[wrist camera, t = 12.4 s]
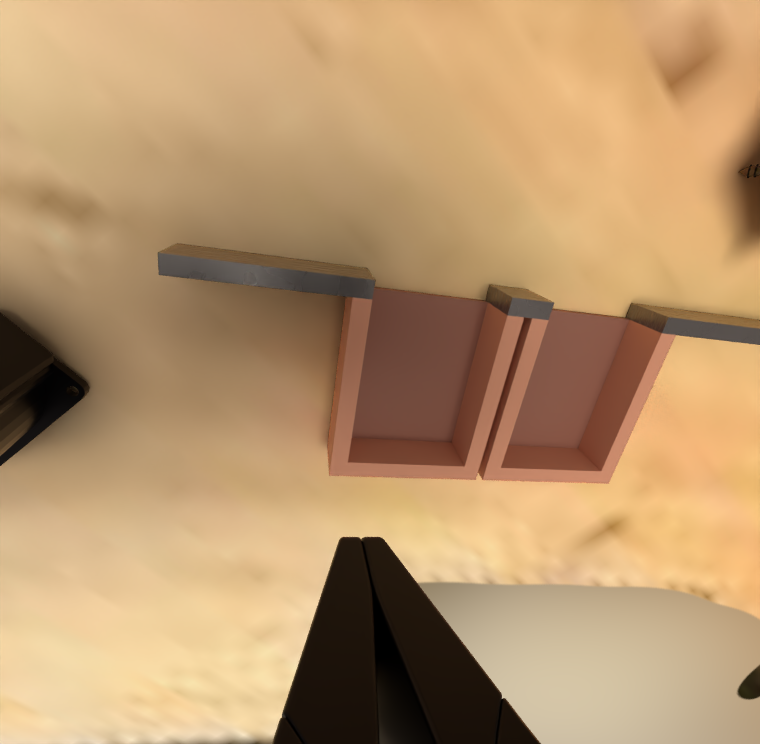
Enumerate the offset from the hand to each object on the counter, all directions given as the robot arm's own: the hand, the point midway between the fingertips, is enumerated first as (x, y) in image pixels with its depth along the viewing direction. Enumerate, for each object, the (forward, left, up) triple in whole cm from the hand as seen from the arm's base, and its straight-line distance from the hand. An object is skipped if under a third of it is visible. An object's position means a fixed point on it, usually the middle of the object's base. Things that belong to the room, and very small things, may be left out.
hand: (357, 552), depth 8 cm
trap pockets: (+5, -7, -13) cm, 16 cm away
